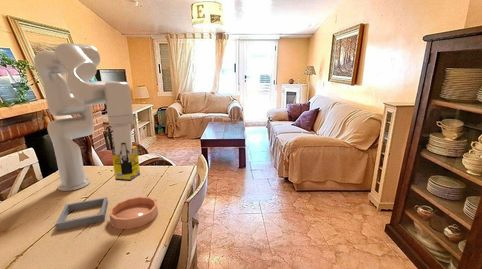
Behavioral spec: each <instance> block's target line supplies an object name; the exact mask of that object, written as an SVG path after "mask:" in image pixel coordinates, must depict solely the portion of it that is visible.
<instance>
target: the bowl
mask: <svg viewBox="0 0 482 269" xmlns="http://www.w3.org/2000/svg"><path fill="white" fill-rule="evenodd" d="M157 203H158V202H157V199H154V198H152V197H150V196H136V197H129V198H127V199H124V200H121V201H120V202H117V203H116V204H114V205H113V206H112V207H111V208H110V209H109V215H108V216H109V222H110V225H112V226H113V227H114V228H116V229H120V230H121V229H123V230H131V229H135V228H139V227H143V226H145V225H147V224H148V223H150V222H152V221H153V220H154V219H155V218H156V217H157V216H158V214H159V210H158V204H157Z"/></svg>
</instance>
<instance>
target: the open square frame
mask: <svg viewBox="0 0 482 269" xmlns="http://www.w3.org/2000/svg"><path fill="white" fill-rule="evenodd" d="M108 205H109V201H108V196H106V197H100V198H95V199H88V200H84V201H78V202H72V203H66V204H65V205H64V207H63V209H62V211H61V213H60V215H59V217H58V219H57V221H56V223H55V229H56V231H57V232H58V231H59V232H60V231H63V230H68V229H71V228H72V229H73V228H78V227H83V226H86V225H87V226H88V225H92V224H96V223H100V222H101V223H102V222H105V221H106V215H107V210H108V209H107V208H108ZM98 206H101V211H100V213H99V214H98V213H97V214H93V215H88V216H81V217H78V218H72V219H67V217H68V215H69V213H70V212H71V211H72V212H73V211H76V210H82V209H83V210H84V209H87V208H92V207H98Z"/></svg>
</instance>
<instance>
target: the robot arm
mask: <svg viewBox="0 0 482 269" xmlns="http://www.w3.org/2000/svg"><path fill="white" fill-rule="evenodd" d="M33 63H34V68H35V71H36V72H37V75H38V76H39V78H40V80H41V82H42V84H43V88H44V89H43V90H44V94H45V100H46V103H47V108H48V111H49V113H50V115H52V116H54V117H65V116H72V115H73V117H67V118H59V119H54V120H51V121H50V122H49V123H48V124H47V128H46V129H47V133H48V135H49V137H50V141H51V143H52V145H53V150H54V154H55V158H56V164H57V168H58V174H59V178H60V179H59V180H60V183H59V184H58V185H57V190H58V191H62V192H71V191H75V190H79V189H82V188H85V187H87V186H88V185H90V182H91V180H90V178H87V177H86V174H85V168H84V161H83V157H82V156H83V155H82V151H81V148H80V145H78V144H77V143H76V142H75V141H73V139H74V140H75V139H79V138H84V137H87V136H92V135H93V133H94V132H95V126H94V125H95V123H94V115H93V110H92V106H94V105H104V104H105V105H106V112H107V113H106V114H107V119H108V126H109V127H112V135H113V136H112V137H113V143H114V149H115V155H116V156H118V155H120V157H121V170H122V175H126V174H132V173H133V171H132V163H131V162H130V154H131V153H132V146H133V136H132V128H131V125H134V124H135V122H134V121H135V120H134V111H133V103H132V94H131V86H130V84H129V83H128V82H126V81H115V80H100V81H99V80H95V81H93V80H92V79H93V78H95V76H96V74H97V71H98V69H97V67H98V66H99V65H100V63H101V54H100V53H99V51H98V49H97V48H96V47H94V46H93V45H91V44H85V43H84V44H83V43H82V44H81V43H71V42H69V43H67V42H65V43H61V44H58V45H57V46H56V47H55V49H54V51H52V50H51V51H40V52H37V53H36V54H35V56H33ZM61 74H65V75H66V74H67V75H66V76H67V77H66V78H65V77H64V76H63V75H61ZM74 115H77V116H74ZM126 150H128V153H126ZM121 151H122V152H121ZM127 155H128V156H127Z"/></svg>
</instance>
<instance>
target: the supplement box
mask: <svg viewBox="0 0 482 269" xmlns="http://www.w3.org/2000/svg"><path fill="white" fill-rule="evenodd" d="M121 152H122V151H121ZM126 153H128V150H126ZM111 156H112V164H113V173H114V179H115V181H121V182H132V181H133V180H135V179H136V178H137V177H139V176H140V175H141V171H140V162H139V161H140V160H139V153H138V146H136V145H132V153H131V154H130V162H131V163H132V171H133V173H132V174H126V175H122V170H121V157H120V155H118V156H116V155H115V148H113V149H111ZM127 156H128V155H127Z"/></svg>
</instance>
